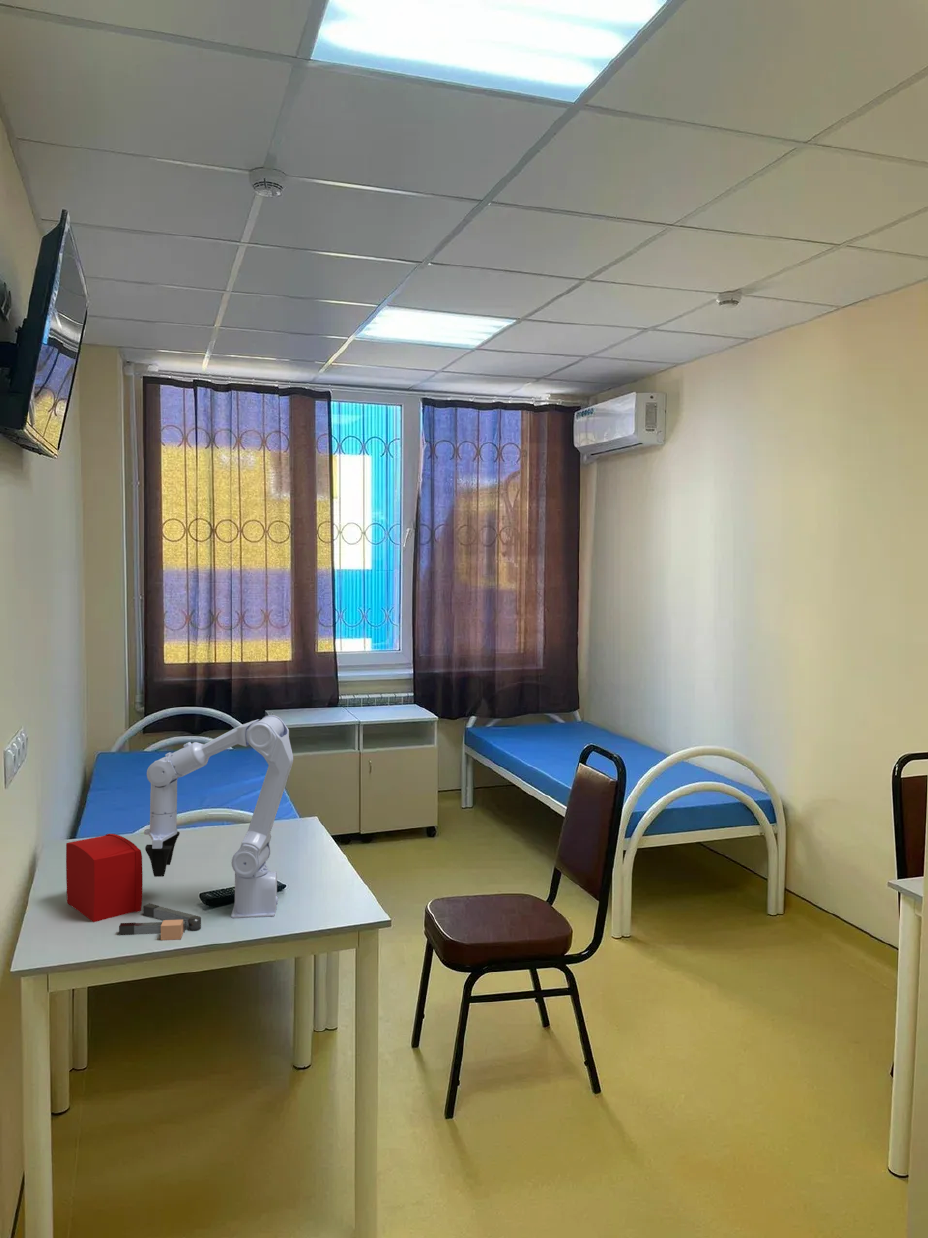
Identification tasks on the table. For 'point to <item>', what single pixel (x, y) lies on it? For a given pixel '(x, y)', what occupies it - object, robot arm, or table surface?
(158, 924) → the tongs handle
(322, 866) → the table surface
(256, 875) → the robot arm
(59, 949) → the table surface
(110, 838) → the red curved-top box
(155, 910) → the tongs arm
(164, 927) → the block
